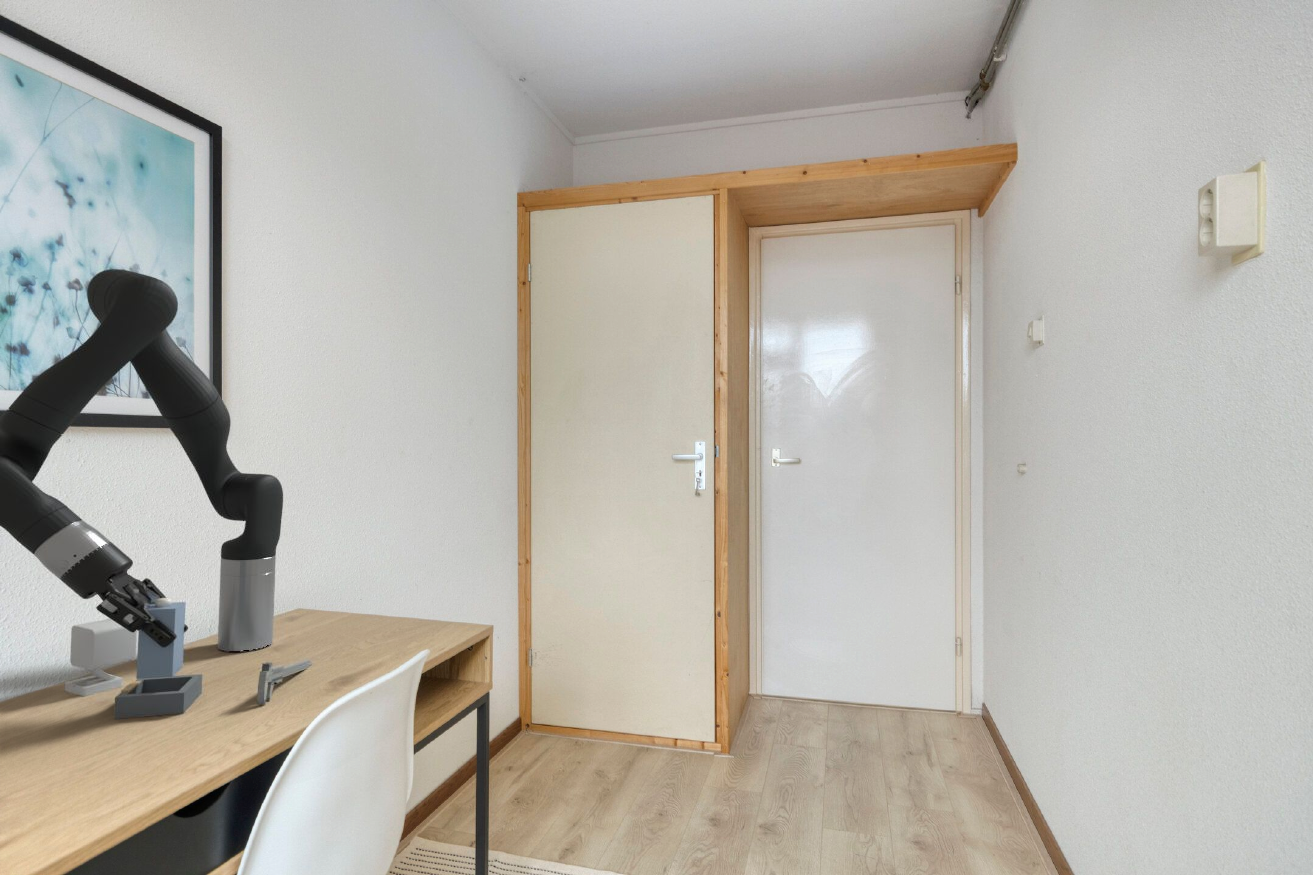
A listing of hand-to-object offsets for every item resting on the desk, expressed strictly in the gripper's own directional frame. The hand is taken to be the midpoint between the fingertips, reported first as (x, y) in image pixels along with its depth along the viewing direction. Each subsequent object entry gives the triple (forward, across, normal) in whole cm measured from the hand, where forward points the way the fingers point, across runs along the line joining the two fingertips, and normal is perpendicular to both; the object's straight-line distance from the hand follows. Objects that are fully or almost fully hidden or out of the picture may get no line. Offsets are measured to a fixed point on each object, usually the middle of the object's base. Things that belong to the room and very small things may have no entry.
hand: (176, 637), depth 105 cm
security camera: (-2, +11, +17) cm, 20 cm away
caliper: (+17, +7, -3) cm, 19 cm away
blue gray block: (+2, 0, +5) cm, 6 cm away
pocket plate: (+6, 0, +8) cm, 10 cm away
